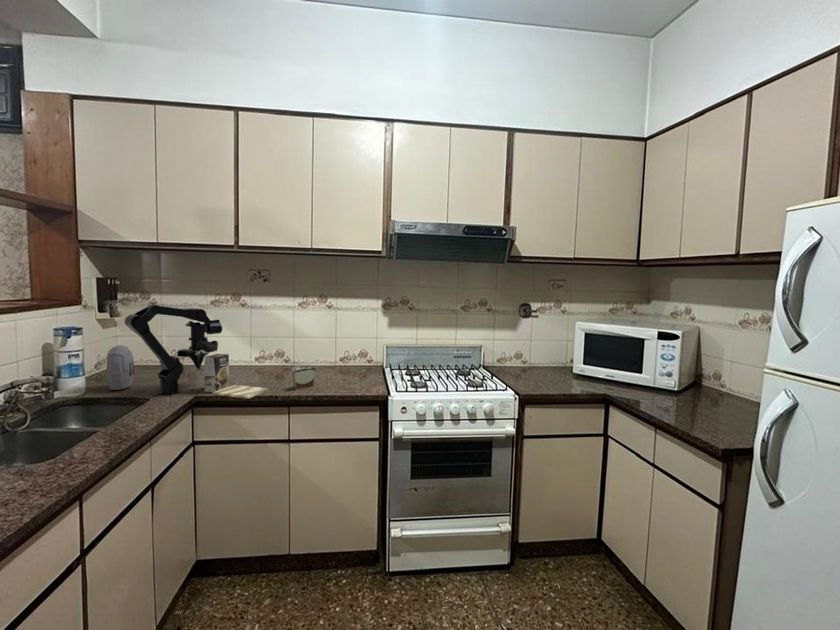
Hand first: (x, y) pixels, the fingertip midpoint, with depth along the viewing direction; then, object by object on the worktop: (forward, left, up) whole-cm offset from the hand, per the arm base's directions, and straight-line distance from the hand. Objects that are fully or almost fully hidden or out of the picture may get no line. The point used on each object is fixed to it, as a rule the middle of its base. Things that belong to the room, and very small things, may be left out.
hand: (198, 368), depth 197 cm
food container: (+43, +18, -9) cm, 48 cm away
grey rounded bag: (-30, -13, -9) cm, 34 cm away
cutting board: (+23, 0, -9) cm, 25 cm away
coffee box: (+10, 0, -9) cm, 14 cm away
